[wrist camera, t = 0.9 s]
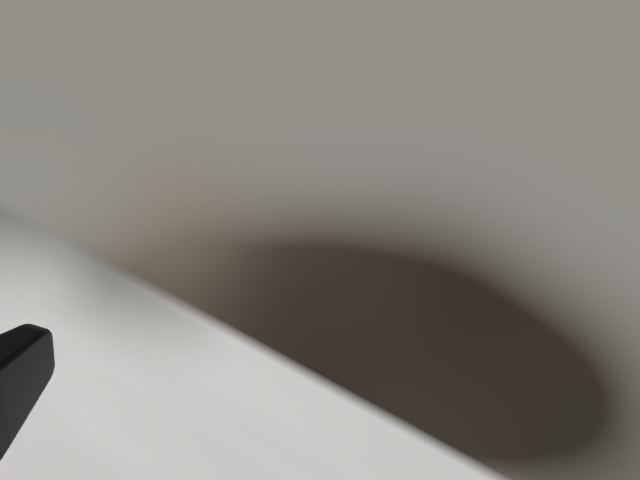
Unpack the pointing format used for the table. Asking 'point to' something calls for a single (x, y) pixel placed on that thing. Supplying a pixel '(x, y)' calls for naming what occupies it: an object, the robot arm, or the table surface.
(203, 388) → the table surface
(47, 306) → the table surface
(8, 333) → the robot arm
